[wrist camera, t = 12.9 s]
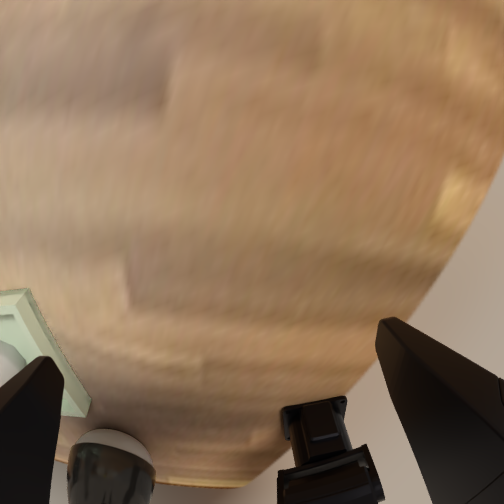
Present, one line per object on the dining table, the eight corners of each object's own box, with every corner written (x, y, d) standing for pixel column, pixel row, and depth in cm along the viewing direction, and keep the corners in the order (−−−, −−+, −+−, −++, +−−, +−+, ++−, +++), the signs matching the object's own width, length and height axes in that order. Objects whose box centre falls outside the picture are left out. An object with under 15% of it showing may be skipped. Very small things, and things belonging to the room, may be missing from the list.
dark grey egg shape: (104, 458, 33) (88, 552, 19) (62, 415, 28) (31, 525, 15) (171, 459, 33) (167, 565, 19) (136, 416, 28) (118, 549, 15)
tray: (91, 399, 27) (86, 417, 25) (4, 391, 27) (-3, 405, 24) (28, 287, 21) (15, 304, 19) (-54, 298, 21) (-66, 311, 18)
